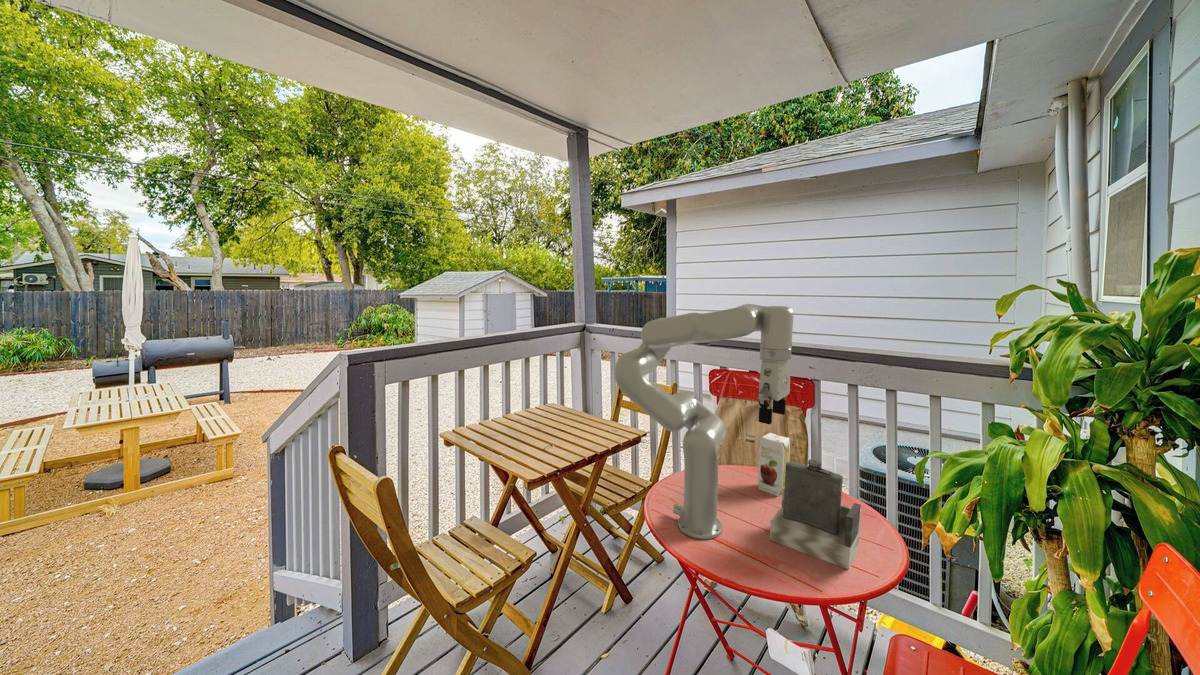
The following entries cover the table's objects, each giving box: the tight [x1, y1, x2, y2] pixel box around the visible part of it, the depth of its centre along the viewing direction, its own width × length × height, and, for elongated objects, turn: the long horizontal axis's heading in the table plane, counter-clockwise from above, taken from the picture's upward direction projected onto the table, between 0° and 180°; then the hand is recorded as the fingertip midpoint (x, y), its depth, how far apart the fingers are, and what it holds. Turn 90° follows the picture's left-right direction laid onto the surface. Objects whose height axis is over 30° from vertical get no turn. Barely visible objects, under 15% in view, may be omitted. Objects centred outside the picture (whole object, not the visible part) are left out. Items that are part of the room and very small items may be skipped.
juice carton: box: [757, 432, 791, 497], centre depth 156 cm, size 8×9×19 cm
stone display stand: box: [769, 487, 862, 570], centre depth 125 cm, size 20×10×14 cm, turn 50°
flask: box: [783, 458, 844, 535], centre depth 125 cm, size 4×14×18 cm, turn 49°
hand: (772, 418), depth 121 cm, fingers open, 9 cm apart
